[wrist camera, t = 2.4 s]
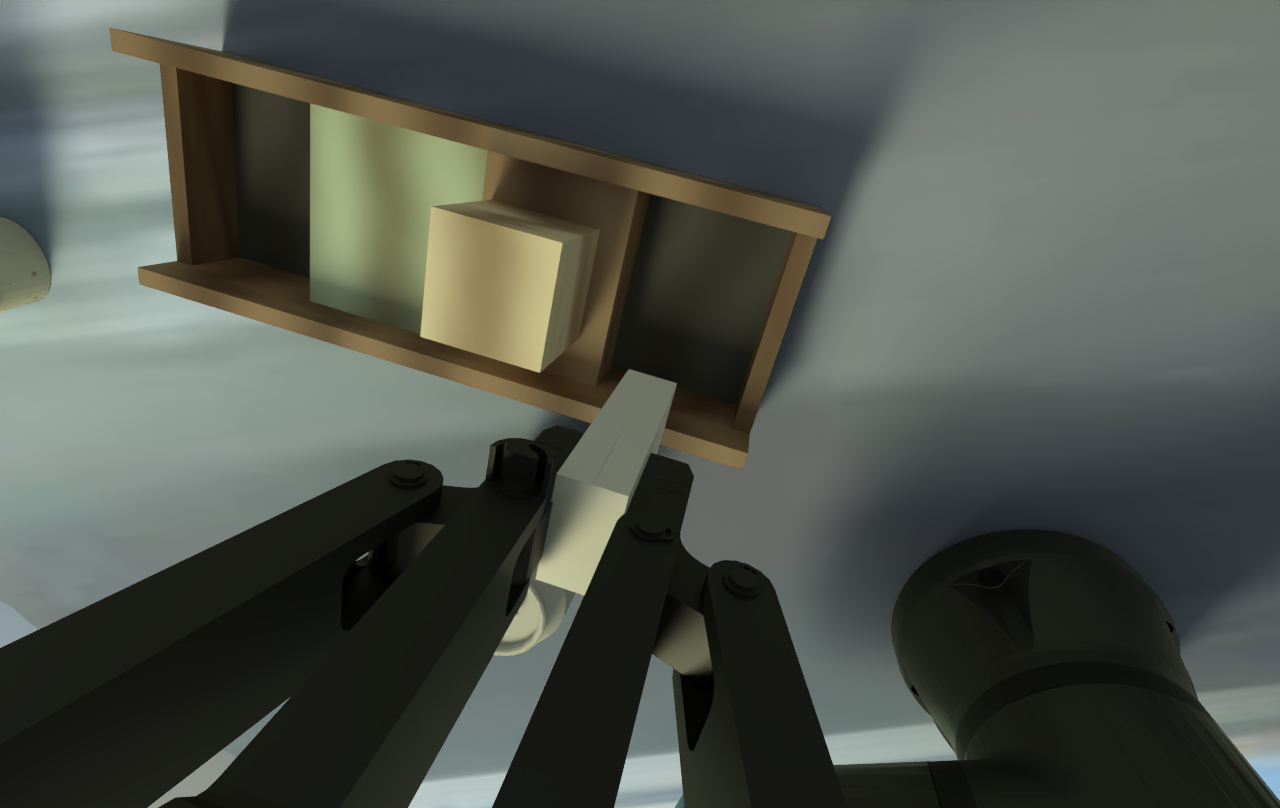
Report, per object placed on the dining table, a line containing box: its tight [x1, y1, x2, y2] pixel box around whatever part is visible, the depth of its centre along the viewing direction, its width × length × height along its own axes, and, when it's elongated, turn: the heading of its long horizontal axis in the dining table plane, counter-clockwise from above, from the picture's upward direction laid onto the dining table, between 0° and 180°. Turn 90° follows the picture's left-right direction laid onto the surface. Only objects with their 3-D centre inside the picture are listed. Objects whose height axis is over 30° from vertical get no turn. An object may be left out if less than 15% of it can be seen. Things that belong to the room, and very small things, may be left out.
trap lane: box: [110, 28, 831, 470], centre depth 33 cm, size 36×13×6 cm, turn 77°
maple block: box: [420, 200, 600, 373], centre depth 29 cm, size 6×6×6 cm
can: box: [494, 563, 575, 656], centre depth 36 cm, size 8×8×12 cm
